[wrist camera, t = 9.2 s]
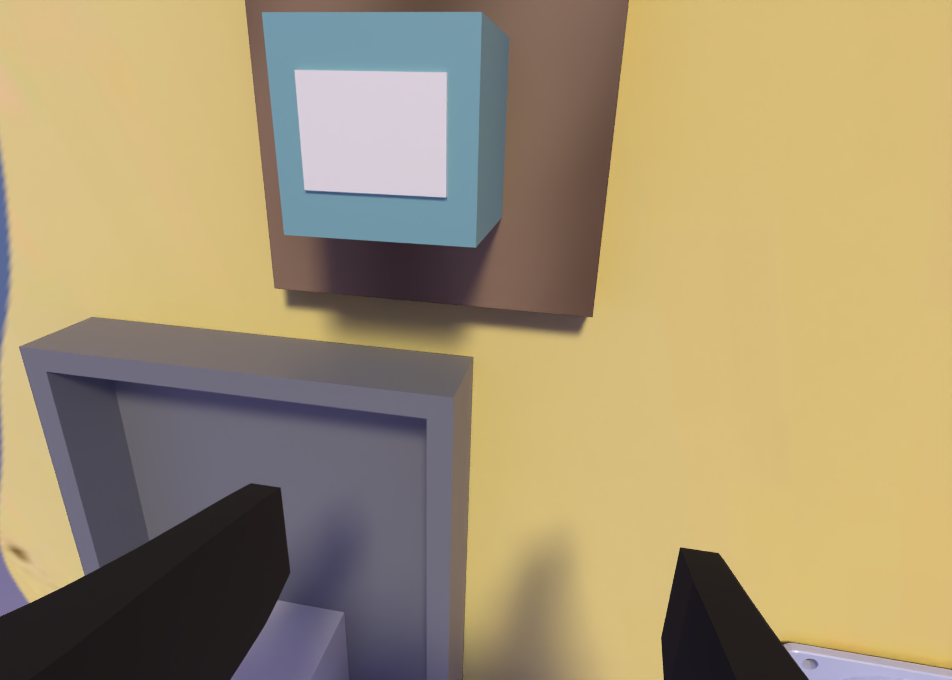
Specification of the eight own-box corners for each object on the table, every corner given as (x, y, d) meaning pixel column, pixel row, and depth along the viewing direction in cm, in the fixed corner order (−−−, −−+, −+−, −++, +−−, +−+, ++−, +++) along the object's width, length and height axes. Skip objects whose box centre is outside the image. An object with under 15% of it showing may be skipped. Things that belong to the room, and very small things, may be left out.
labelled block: (509, 37, 14) (480, 11, 11) (502, 217, 16) (475, 248, 12) (340, 36, 15) (259, 11, 11) (350, 208, 17) (281, 235, 13)
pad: (636, -83, 14) (639, -100, 13) (592, 304, 18) (592, 317, 17) (260, -76, 16) (235, -90, 15) (292, 278, 19) (274, 288, 18)
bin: (473, 357, 19) (453, 397, 16) (460, 745, 27) (445, 817, 24) (91, 317, 22) (19, 347, 19) (176, 683, 29) (133, 743, 26)
